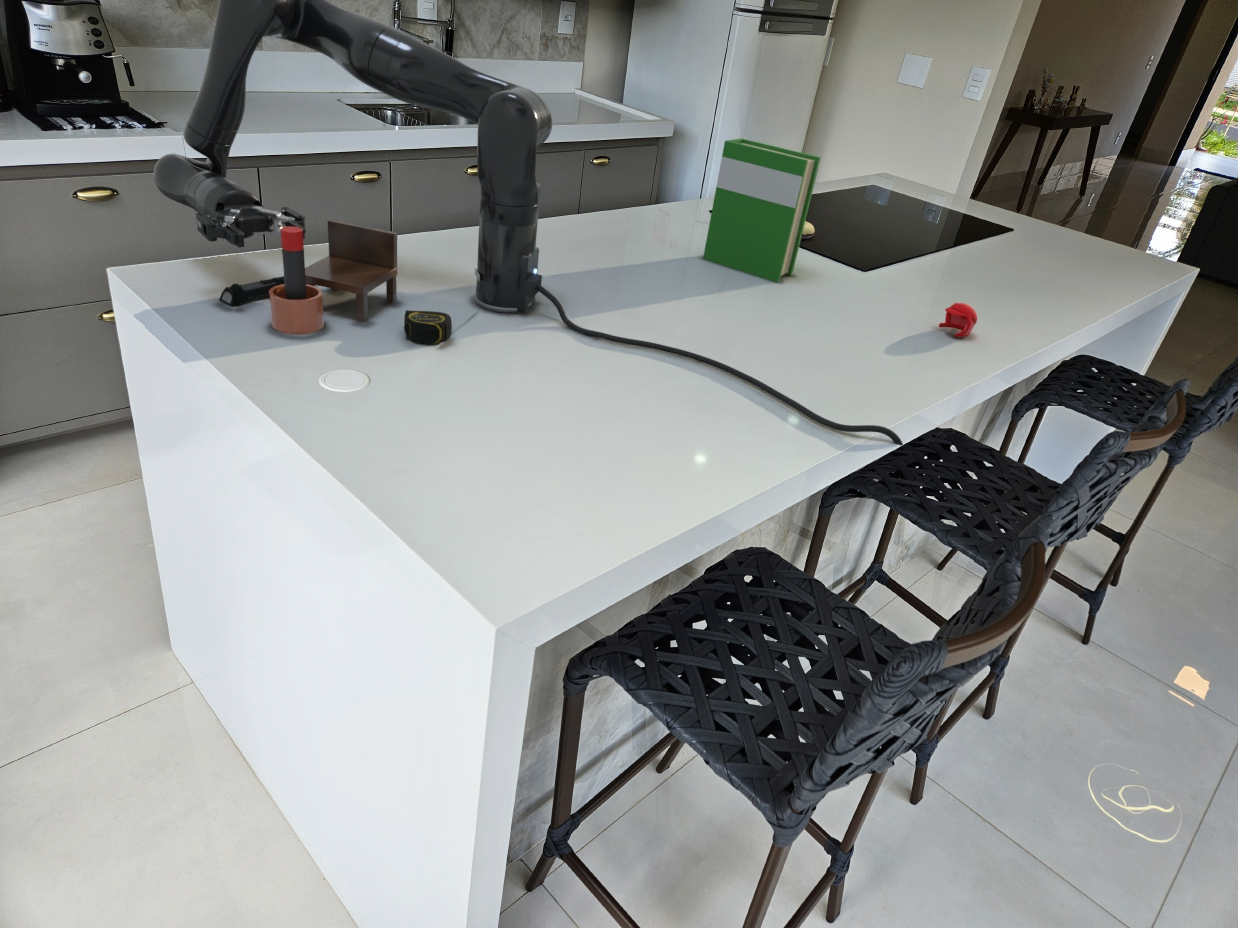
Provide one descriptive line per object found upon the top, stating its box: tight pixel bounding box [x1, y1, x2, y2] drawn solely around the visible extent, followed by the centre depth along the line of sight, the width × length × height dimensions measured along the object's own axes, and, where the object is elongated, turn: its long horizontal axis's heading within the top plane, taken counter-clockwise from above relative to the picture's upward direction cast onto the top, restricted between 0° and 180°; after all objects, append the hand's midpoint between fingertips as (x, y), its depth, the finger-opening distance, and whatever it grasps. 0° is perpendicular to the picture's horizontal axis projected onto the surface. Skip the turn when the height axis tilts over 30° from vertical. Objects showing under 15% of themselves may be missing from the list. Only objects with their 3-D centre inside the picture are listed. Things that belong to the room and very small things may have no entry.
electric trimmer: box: [219, 275, 316, 308], centre depth 129 cm, size 4×16×3 cm, turn 142°
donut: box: [801, 220, 815, 240], centre depth 206 cm, size 10×5×9 cm
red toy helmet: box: [938, 302, 978, 339], centre depth 157 cm, size 8×6×6 cm
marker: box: [280, 226, 307, 300], centre depth 118 cm, size 3×3×14 cm
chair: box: [305, 218, 398, 323], centre depth 128 cm, size 11×11×12 cm
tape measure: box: [403, 310, 453, 345], centre depth 123 cm, size 7×7×4 cm
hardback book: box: [702, 137, 822, 283], centre depth 172 cm, size 18×7×24 cm, turn 56°
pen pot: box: [268, 284, 325, 335], centre depth 120 cm, size 7×7×6 cm
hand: (272, 238), depth 120 cm, fingers open, 8 cm apart
